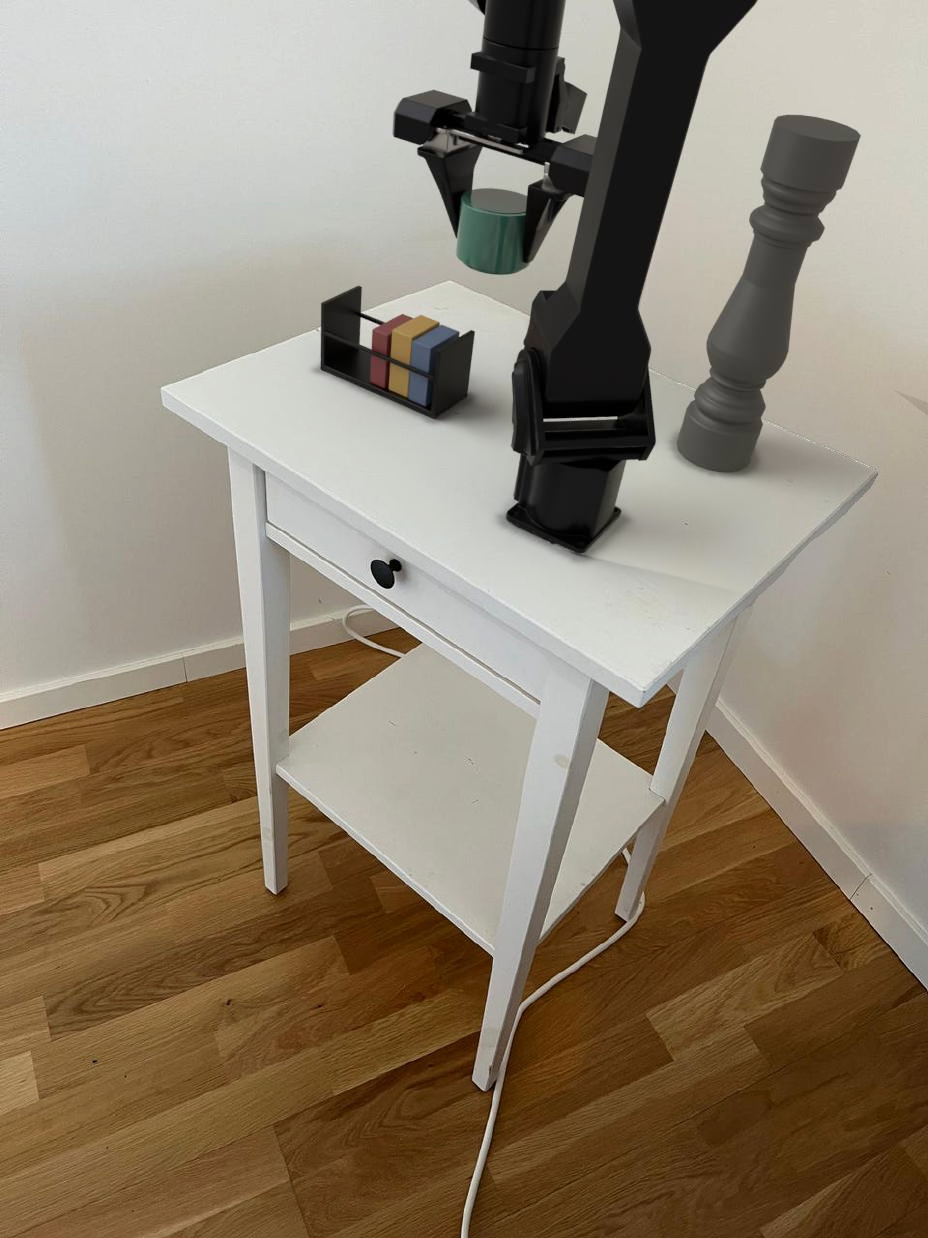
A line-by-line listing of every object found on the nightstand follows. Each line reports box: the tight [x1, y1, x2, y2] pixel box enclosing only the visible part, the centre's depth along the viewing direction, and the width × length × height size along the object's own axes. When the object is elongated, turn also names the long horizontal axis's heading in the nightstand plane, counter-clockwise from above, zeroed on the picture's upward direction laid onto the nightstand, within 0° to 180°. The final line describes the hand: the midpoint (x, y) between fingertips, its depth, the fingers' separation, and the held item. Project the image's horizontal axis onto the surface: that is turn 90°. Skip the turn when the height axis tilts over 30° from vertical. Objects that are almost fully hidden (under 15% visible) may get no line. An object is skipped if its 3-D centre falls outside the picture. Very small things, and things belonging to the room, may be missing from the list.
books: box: [370, 313, 461, 406], centre depth 81 cm, size 6×4×5 cm
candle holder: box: [676, 114, 862, 473], centre depth 73 cm, size 6×6×25 cm
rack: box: [320, 285, 476, 420], centre depth 82 cm, size 12×5×6 cm, turn 57°
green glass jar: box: [455, 187, 531, 276], centre depth 82 cm, size 6×6×5 cm
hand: (494, 249), depth 83 cm, fingers closed on green glass jar, 6 cm apart
